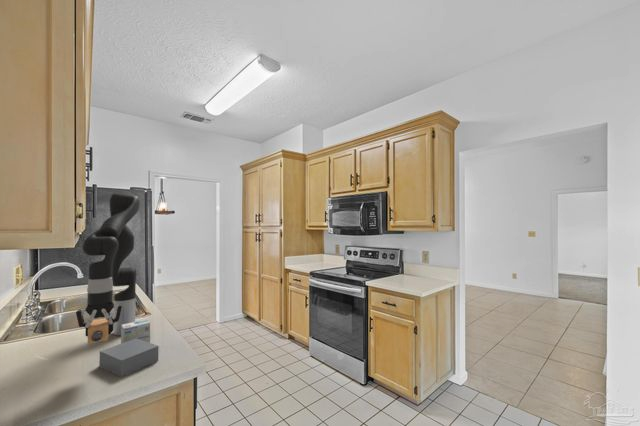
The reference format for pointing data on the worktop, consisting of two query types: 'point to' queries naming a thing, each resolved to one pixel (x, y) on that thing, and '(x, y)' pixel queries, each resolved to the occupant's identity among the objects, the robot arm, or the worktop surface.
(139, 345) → the stand
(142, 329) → the light bulb box
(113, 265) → the robot arm
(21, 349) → the worktop surface
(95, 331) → the block
